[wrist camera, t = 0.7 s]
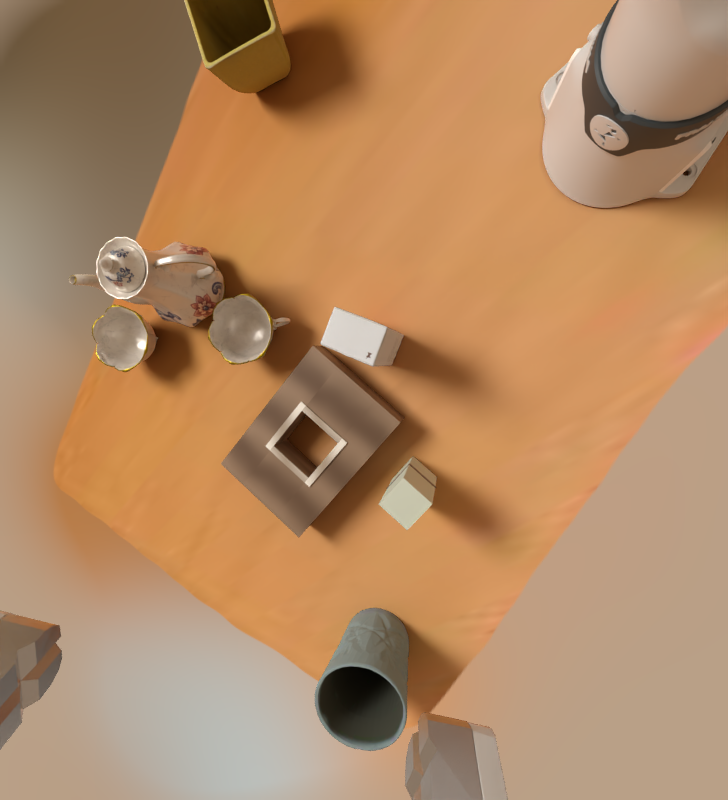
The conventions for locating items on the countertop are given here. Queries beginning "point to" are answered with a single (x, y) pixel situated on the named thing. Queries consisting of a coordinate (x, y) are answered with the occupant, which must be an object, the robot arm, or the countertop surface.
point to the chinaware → (172, 303)
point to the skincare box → (361, 338)
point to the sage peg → (409, 493)
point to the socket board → (332, 411)
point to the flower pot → (240, 42)
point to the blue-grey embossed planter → (366, 682)
